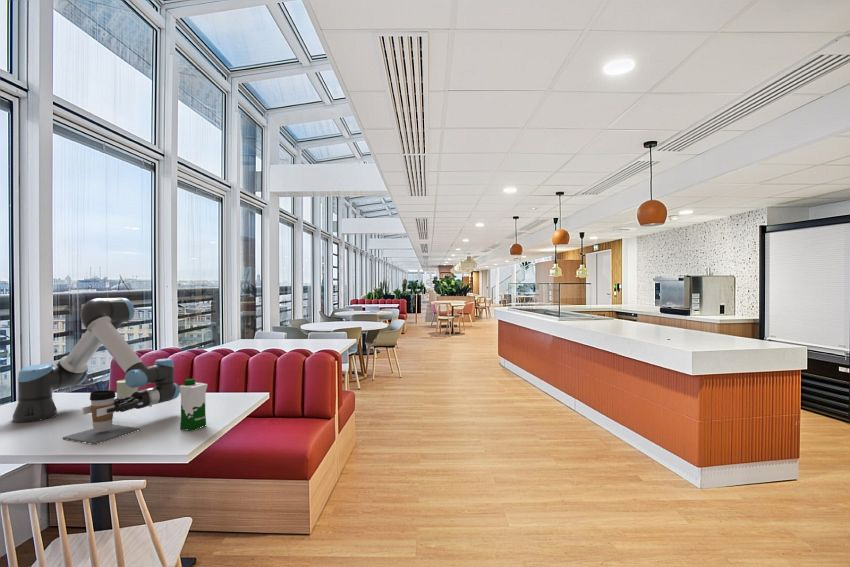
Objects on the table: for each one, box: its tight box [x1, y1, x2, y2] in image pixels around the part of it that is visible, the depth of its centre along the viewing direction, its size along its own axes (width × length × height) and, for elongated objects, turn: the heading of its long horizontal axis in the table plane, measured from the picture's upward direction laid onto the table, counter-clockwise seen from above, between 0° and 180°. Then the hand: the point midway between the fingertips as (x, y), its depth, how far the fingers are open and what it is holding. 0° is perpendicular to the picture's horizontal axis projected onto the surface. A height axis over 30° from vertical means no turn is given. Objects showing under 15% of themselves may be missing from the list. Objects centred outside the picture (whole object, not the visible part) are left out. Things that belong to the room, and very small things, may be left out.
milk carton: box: [178, 378, 208, 431], centre depth 187 cm, size 9×9×20 cm
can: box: [116, 379, 139, 399], centre depth 227 cm, size 9×9×12 cm
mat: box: [62, 423, 141, 445], centre depth 178 cm, size 18×18×1 cm
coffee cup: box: [89, 390, 117, 431], centre depth 178 cm, size 8×8×15 cm
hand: (90, 412), depth 174 cm, fingers closed on coffee cup, 7 cm apart
